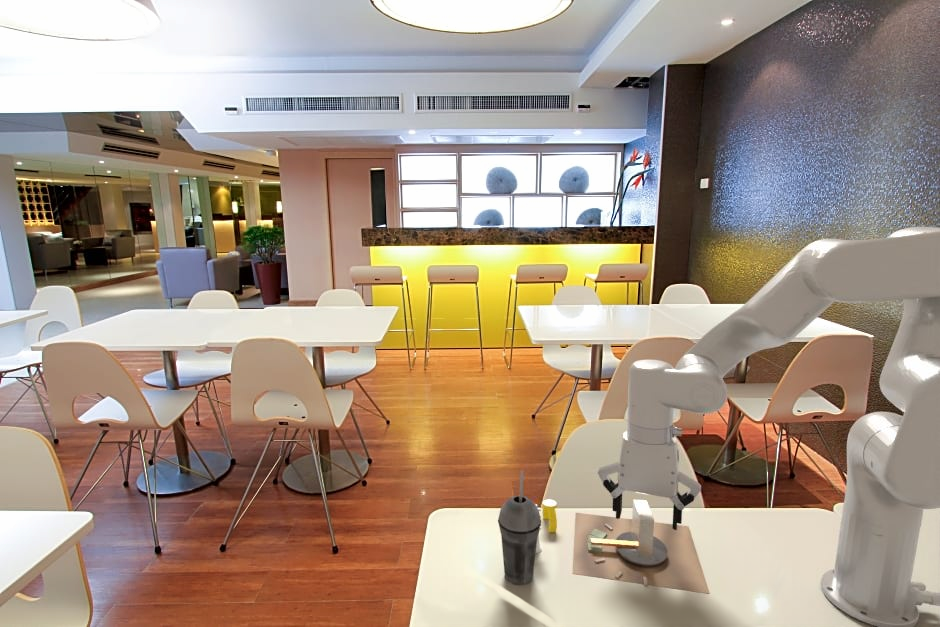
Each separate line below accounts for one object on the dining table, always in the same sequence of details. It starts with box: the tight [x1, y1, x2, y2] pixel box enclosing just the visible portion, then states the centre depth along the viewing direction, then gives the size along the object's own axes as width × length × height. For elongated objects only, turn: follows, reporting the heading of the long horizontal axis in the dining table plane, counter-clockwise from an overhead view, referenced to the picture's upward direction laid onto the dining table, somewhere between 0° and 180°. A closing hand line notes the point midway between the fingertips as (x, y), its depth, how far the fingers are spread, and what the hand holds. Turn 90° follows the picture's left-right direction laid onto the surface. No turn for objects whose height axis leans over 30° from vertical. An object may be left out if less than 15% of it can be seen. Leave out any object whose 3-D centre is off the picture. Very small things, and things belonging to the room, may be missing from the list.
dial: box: [591, 499, 667, 567], centre depth 93 cm, size 14×9×8 cm, turn 82°
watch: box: [542, 498, 558, 533], centre depth 102 cm, size 6×3×6 cm, turn 6°
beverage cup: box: [497, 470, 542, 586], centre depth 86 cm, size 7×7×20 cm
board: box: [572, 512, 711, 595], centre depth 95 cm, size 22×19×2 cm
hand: (646, 520), depth 92 cm, fingers open, 9 cm apart
